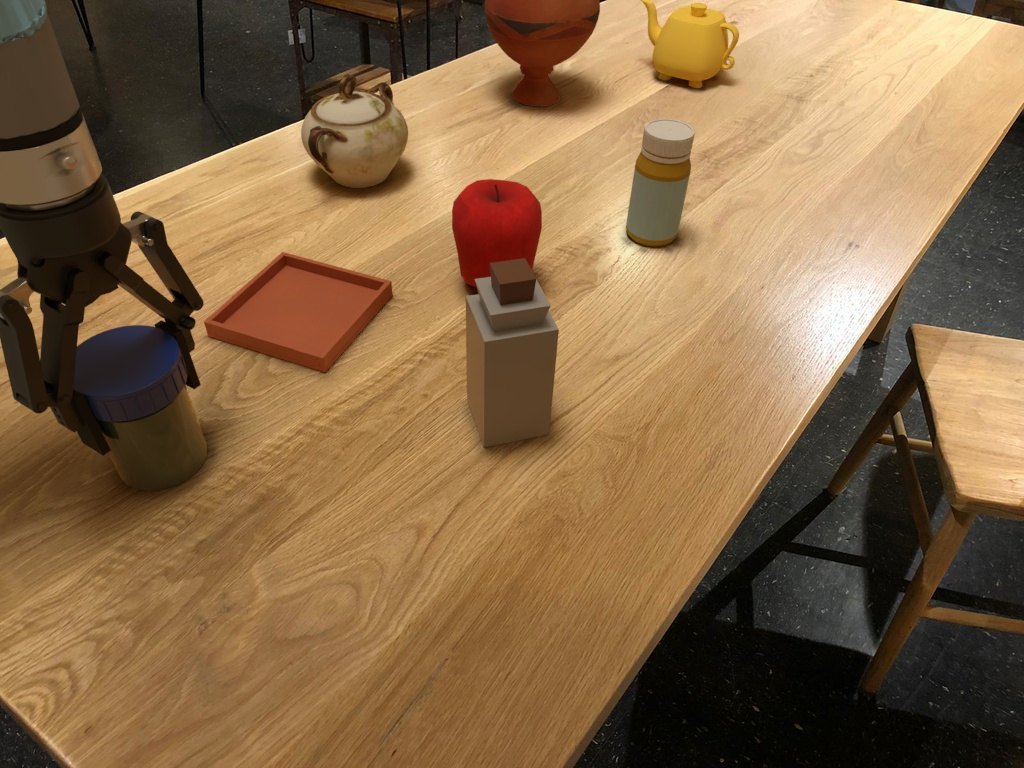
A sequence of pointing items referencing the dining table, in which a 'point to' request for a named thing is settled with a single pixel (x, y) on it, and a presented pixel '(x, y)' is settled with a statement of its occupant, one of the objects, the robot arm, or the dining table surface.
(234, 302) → the tray
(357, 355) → the dining table surface
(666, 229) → the bottle
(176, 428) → the jar
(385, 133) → the sugar bowl
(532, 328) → the perfume bottle
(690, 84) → the teapot
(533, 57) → the goblet
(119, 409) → the lid
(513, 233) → the apple
